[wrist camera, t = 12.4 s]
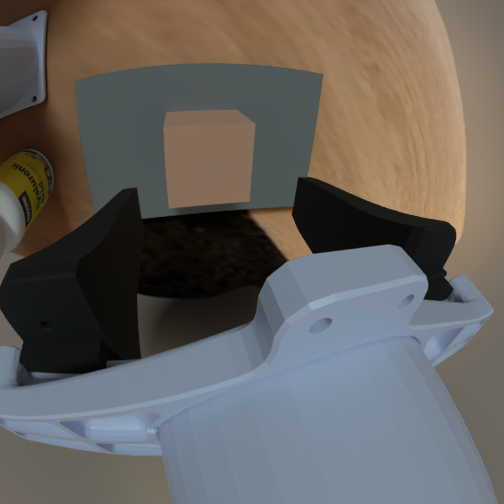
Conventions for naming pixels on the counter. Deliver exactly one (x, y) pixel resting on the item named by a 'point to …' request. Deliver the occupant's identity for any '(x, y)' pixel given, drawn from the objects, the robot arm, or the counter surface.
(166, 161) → the terracotta cube
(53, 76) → the counter surface
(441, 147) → the counter surface
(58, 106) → the counter surface
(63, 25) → the counter surface
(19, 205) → the supplement bottle
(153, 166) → the slate board
